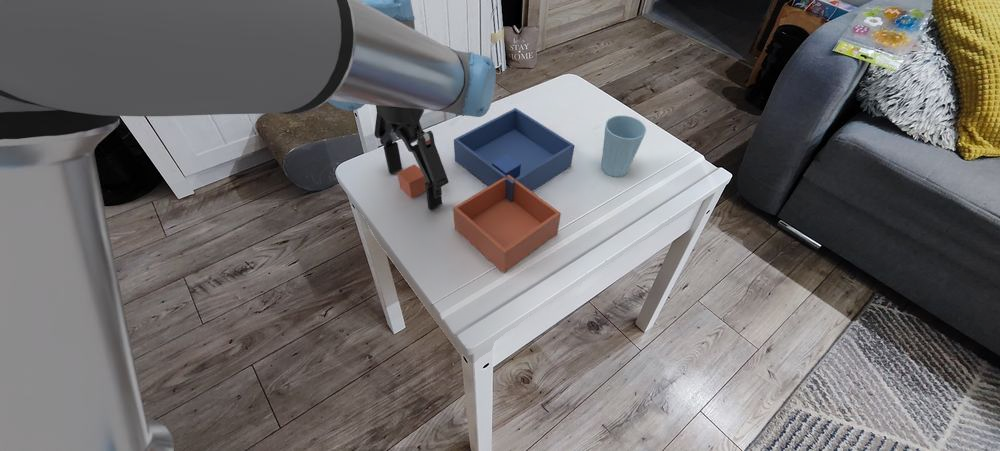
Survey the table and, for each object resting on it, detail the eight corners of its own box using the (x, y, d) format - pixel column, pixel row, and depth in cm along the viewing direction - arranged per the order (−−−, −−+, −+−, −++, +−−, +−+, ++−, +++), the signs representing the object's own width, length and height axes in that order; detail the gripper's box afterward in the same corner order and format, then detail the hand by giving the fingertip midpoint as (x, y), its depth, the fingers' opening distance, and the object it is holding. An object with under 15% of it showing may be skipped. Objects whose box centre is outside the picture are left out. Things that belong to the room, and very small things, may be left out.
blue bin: (511, 204, 87) (512, 183, 83) (454, 160, 96) (453, 139, 91) (571, 166, 95) (574, 145, 91) (514, 128, 103) (515, 107, 99)
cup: (641, 171, 94) (654, 130, 87) (614, 185, 91) (625, 143, 84) (615, 152, 99) (626, 111, 91) (588, 165, 96) (597, 123, 88)
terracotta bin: (503, 273, 76) (504, 252, 72) (454, 228, 83) (452, 207, 79) (557, 234, 82) (561, 213, 78) (507, 195, 89) (508, 174, 85)
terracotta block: (411, 199, 88) (409, 183, 85) (400, 188, 89) (397, 172, 87) (428, 189, 89) (426, 174, 86) (416, 179, 91) (414, 163, 88)
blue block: (505, 188, 89) (505, 173, 86) (491, 178, 91) (491, 162, 88) (519, 179, 91) (521, 164, 88) (506, 169, 93) (506, 154, 90)
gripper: (465, 116, 69) (470, 213, 85) (377, 55, 81) (395, 149, 97) (425, 136, 66) (437, 233, 82) (339, 69, 78) (364, 164, 94)
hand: (414, 188), depth 89 cm, fingers open, 13 cm apart
